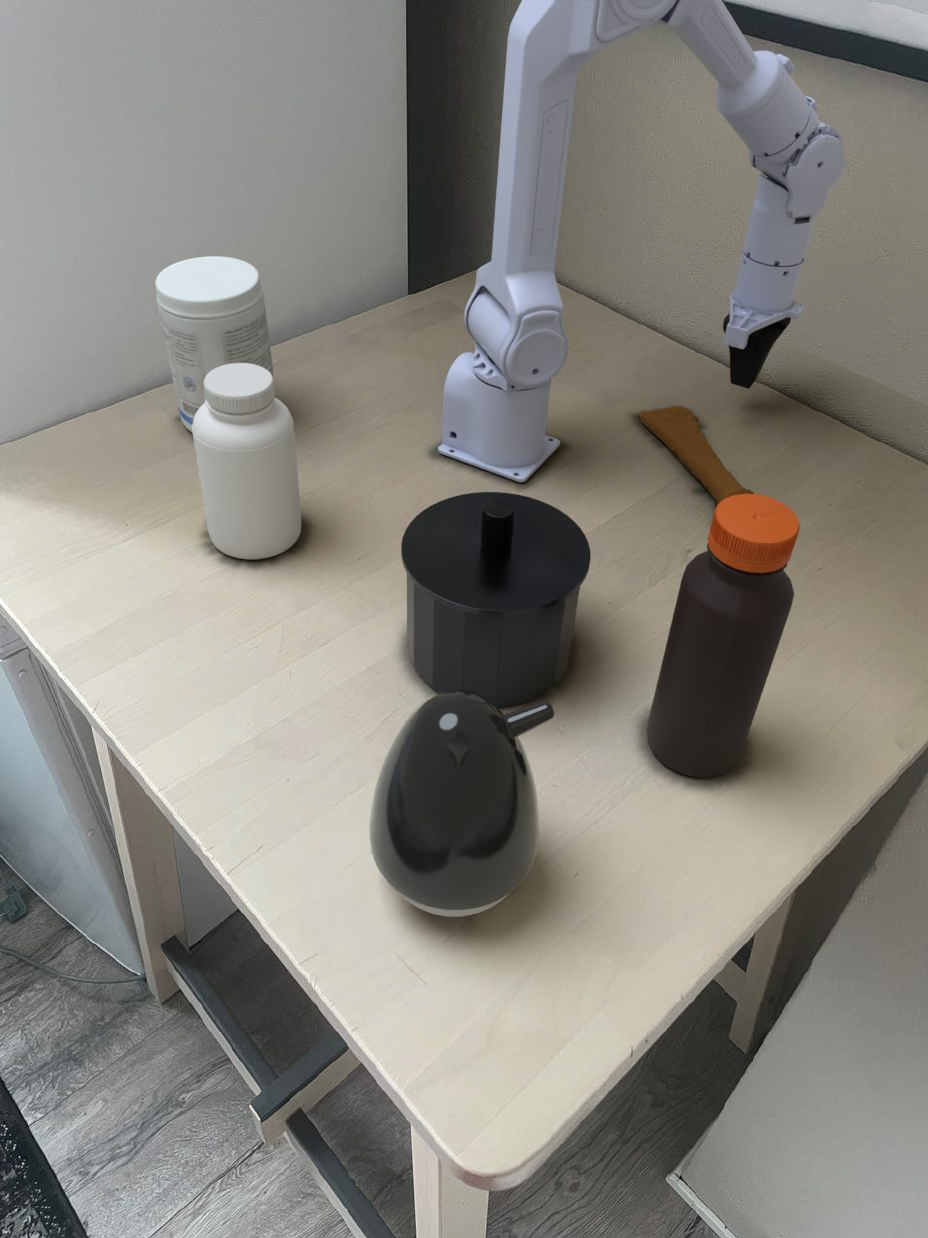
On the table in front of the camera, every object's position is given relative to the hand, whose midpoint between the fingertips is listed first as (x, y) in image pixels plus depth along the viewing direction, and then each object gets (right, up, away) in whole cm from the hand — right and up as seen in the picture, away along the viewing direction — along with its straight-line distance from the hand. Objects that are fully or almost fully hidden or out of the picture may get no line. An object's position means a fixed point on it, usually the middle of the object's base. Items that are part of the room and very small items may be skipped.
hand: (742, 383), depth 105 cm
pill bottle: (-46, -17, -16) cm, 52 cm away
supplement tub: (-52, -4, -3) cm, 52 cm away
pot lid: (-26, -19, -32) cm, 46 cm away
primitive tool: (-7, -9, -6) cm, 13 cm away
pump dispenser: (-29, -40, -40) cm, 64 cm away
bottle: (-12, -33, -32) cm, 48 cm away
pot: (-27, -26, -26) cm, 46 cm away
